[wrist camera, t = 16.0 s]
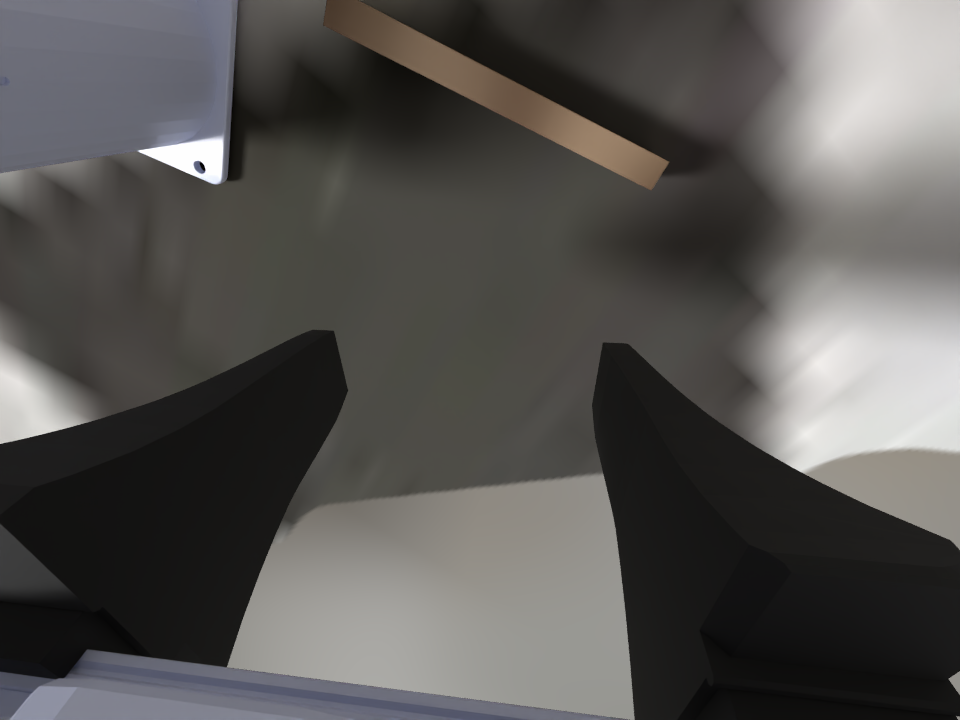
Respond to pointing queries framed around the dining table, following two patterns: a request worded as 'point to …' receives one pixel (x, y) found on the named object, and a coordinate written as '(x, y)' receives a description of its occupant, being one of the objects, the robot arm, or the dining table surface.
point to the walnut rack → (492, 90)
